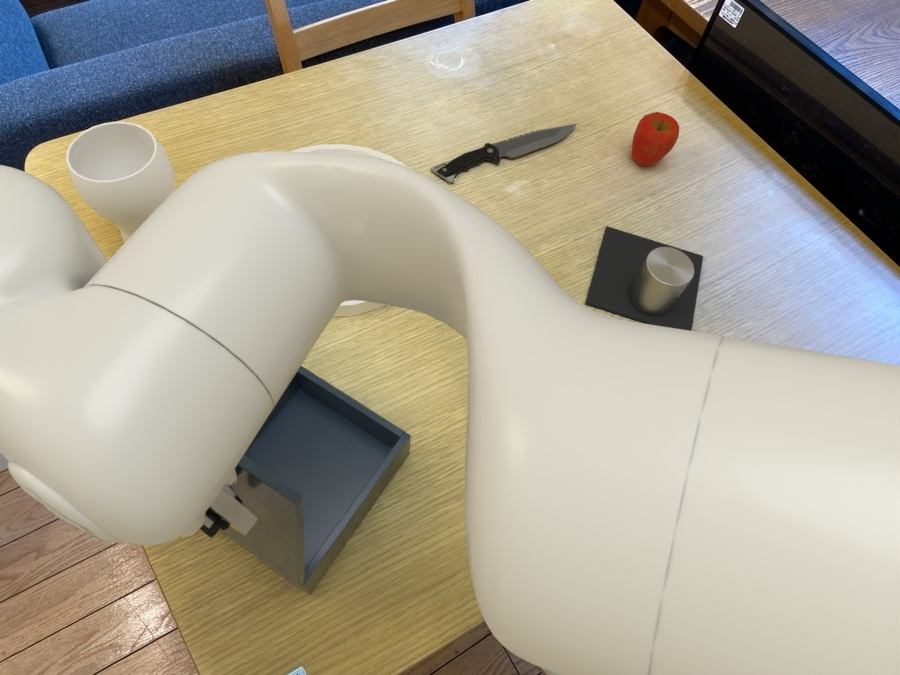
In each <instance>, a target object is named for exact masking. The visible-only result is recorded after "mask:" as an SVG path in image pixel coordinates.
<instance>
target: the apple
mask: <svg viewBox="0 0 900 675" xmlns="http://www.w3.org/2000/svg"><path fill="white" fill-rule="evenodd" d="M679 136H680V125H679V123H678V121H677V120H676V119H675V118H674V117H673V116H671V115H669V114H667V113H663V112H660V111H654V112H650V113H647V114H644V116H643V117H642V118H641V119H640V120H639V122H638V123H637V125H636V128H635V131H634V133H633V137H632V143H631V157H632V159H633V162H634V163H636V164H637V165H640V166H643V167H649V166H652V165H654V164H657V163H658V162H659V161H661V160H662V159H664V157H666V156H668V154H669V153H670V152H671V151H672V149H673V148H674V147H675V145H676V143H677V142H678V139H679Z"/></svg>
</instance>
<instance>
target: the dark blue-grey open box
mask: <svg viewBox="0 0 900 675" xmlns="http://www.w3.org/2000/svg"><path fill="white" fill-rule="evenodd" d="M411 436H412V435H411V434H410V433H408V432H406V431H405V430H403V428H400V427H399V426H397V425H396V424H394V423H392V422H391V421H389V420H388V419H386V418H385V417H383V416H381V414H378V413H376V412H375V411H373V410H372V409H370V408H369V407H368V406H365V405H364V404H362V403H361V402H359V401H358V400H356V399H355V398H353V397H351V396H350V395H349V394H347V393H345V392H344V391H342V390H341V389H339V388H337V387H336V386H335V385H333V384H331V383H329V382H328V381H326V380H325V379H323V378H321V377H320V376H318V375H317V374H315V373H314V372H312V371H310V370H309V369H308V368H306V367H304V366H303V365H301V366H300V368H299V369H298V371H297V373H296V374H295V376H294V377H293V379H292V380H291V382H290V384H289V385H288V387H287V388H286V390H285V391H284V393H283V394H282V396H281V397H280V399H279V401H278V402H277V404H276V405H275V407H274V408H273V410H272V411H271V413H270V414H269V416H268V417H267V419H266V421H265V422H264V424H263V425H262V427H261V428H260V430H259V432H258V433H257V435H256V436H255V438H254V439H253V441H252V442H251V444H250V446H249V447H248V449H247V450H246V452H245V453H244V456H246V457H247V458H249V459H250V460H252V461H253V462H254V463H256V464H257V465H259V466H260V467H262V468H263V469H265V470H266V471H268V472H269V473H270V474H272V475H273V476H275V477H276V478H278V479H279V480H281V481H282V482H283V483H285V484H286V485H288V486H289V487H291V488H292V489H294V490H295V491H297V492H298V493H299V494H301V495H302V496H303V529H304V573H305V582H304V583H303V585H302V586H301V587H300V588H299V590H302V591H303V592H304V593H306V594H307V595H308V596H311V595H312V594H313V592H314V591H315V589H316V588H317V586H318V585H319V583H320V582H321V581H322V579H323V578H324V577H325V574H327V572H328V571H329V569H330V568H331V566H332V565H333V564H334V562H335V561H336V559H337V558H338V557H339V555H340V554H341V552H342V551H343V550H344V548H345V547H346V546H347V544H348V542H350V540H351V538H352V536H353V535H354V534H355V532H356V531H357V529H358V528H359V527H360V525H361V524H362V523H363V521H364V519H366V517H367V515H368V514H369V512H370V511H371V510H372V508H373V507H374V506H375V504H376V503H377V502H378V500H379V499H380V497H381V495H382V494H383V493H384V491H385V490H386V488H387V487H388V486H389V484H390V483H391V481H392V480H393V479H394V477H395V476H396V475H397V473H398V472H399V470H400V469H401V467H402V465H403V464H404V463H405V461H406V460H407V459H408V457H409V456H410V452H411V438H412V437H411Z"/></svg>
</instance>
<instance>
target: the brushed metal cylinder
mask: <svg viewBox="0 0 900 675" xmlns="http://www.w3.org/2000/svg"><path fill="white" fill-rule="evenodd" d="M693 276H694V266H693V263H692V261H691V260H690V259H689V257H688V256H687V255H685V254H684V253H683V252H681V251H679V250H677V249H675V248H671V247H659V248H656V249H654V250H652V251H651V252H650V253H649V254H648V256H647V258H646V260H645V261H644V263H643V265H642V267H641V268H640V270H639V272H638V274H637V275H636V277H635V279H634V281H633V282H632V284H631V286H630V288H629V291H628V295H629V299H630V302H631V303H632V305H633V306H634V307H635V308H636V309H637V310H638V311H640V312H641V313H643V314H646V315H649V316H661V315H664V314H666V313H667V312H669V311H670V309H671V308H672V306H673V305H674V304H675V302H676V301H677V299H678V298H679V297H680V295H681V294H682V292H683V291H684V289H685V288H686V287H687V285H688V284H689V282H690V281H691V280H692V278H693Z"/></svg>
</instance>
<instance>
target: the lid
mask: <svg viewBox="0 0 900 675" xmlns="http://www.w3.org/2000/svg"><path fill="white" fill-rule="evenodd" d="M235 471H236V474H237V483H236V484H234V483H233V484H232V485H231V487H232V488H233V490H234V491H235V492H236V493H237V494H238V496H239V498H240V499H241V500H242V502H243V503H242V504H243V505H244V507H246V508H247V509H248V510H249V511H250V512H251V513H252V514H254V515H255V516H256V517H257V518H258V519H259V520H258V521H257V522H256V524H255V525H254V526H253V527H252V529H251V530H250V531H249V532H248V534H247V535H246V536H245V535H243V534H242V533H240V532H238V531H237V530H235V529H234V528H232V527H231V526H229V527H228V529H226V530H222V529H220V530H219V531H218V532H221V534H223V535H225V536H226V537H227V538H229V539H230V540H231V541H233V542H234V543H236V544H237V545H238V546H240V547H241V548H242V549H244V550H245V551H247V552H248V553H249V554H251V555H252V556H253V557H255V558H256V559H257V560H259V561H260V562H262V564H264V565H266V566H267V567H269V568H270V569H271V570H272V571H274V572H275V573H276V574H278V575H280V576H281V577H282V578H284V580H286V581H287V582H289V583H290V584H292V585H293V586H294V587H296V588H297V589H300V587H301V586H302V585H303V583H304V582H305V573H304V529H303V496H302V495H301V494H299V493H298V492H297V491H295V490H294V489H292V488H291V487H289V486H288V485H286V484H285V483H283V482H282V481H281V480H279V479H278V478H276V477H275V476H273V475H272V474H270V473H269V472H268V471H266V470H265V469H263V468H262V467H260V466H259V465H257V464H256V463H254V462H253V461H252V460H250V459H249V458H247V457H246V456H244V455H243V457H242V458H241V460H240V461H239V463H238V464H237V466H236V468H235Z"/></svg>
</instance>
